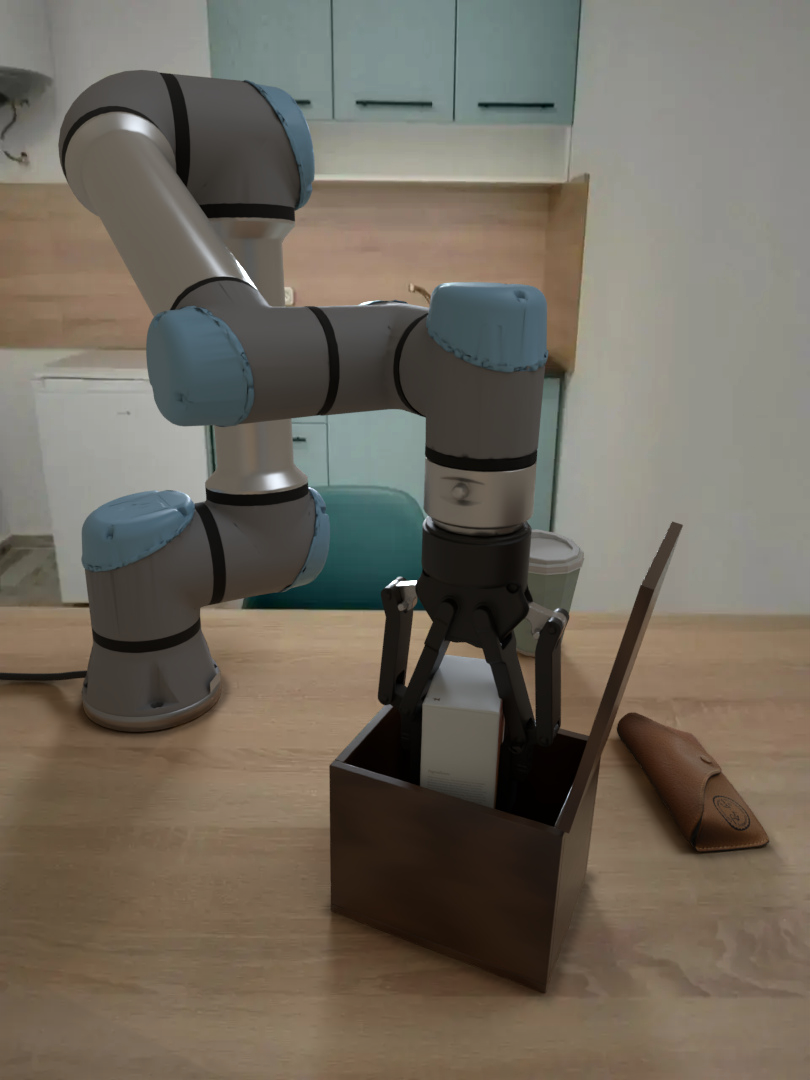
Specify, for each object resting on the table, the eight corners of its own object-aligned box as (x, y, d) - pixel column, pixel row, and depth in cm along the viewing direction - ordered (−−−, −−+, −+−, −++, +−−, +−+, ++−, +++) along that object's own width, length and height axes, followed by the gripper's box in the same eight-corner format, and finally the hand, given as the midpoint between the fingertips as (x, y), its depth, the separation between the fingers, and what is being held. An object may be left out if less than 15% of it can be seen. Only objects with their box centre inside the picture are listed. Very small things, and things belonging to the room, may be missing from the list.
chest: (330, 911, 66) (328, 765, 61) (397, 817, 77) (400, 687, 72) (545, 994, 59) (562, 837, 54) (585, 878, 70) (603, 739, 65)
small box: (492, 838, 61) (500, 714, 57) (417, 826, 62) (421, 703, 58) (502, 773, 68) (511, 660, 65) (435, 764, 69) (440, 651, 66)
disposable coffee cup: (587, 642, 111) (599, 537, 106) (555, 675, 102) (567, 563, 97) (515, 622, 116) (523, 521, 111) (479, 652, 108) (486, 544, 102)
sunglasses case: (779, 842, 74) (754, 791, 72) (709, 879, 74) (682, 830, 72) (687, 729, 91) (665, 685, 88) (631, 761, 91) (607, 717, 89)
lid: (640, 584, 47) (654, 589, 47) (671, 521, 58) (683, 524, 57) (557, 829, 54) (569, 834, 54) (598, 732, 65) (608, 736, 65)
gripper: (327, 512, 57) (330, 789, 65) (607, 560, 50) (572, 866, 58) (375, 485, 64) (373, 741, 72) (630, 524, 56) (595, 804, 64)
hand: (462, 796), depth 65 cm, fingers closed on small box, 6 cm apart
